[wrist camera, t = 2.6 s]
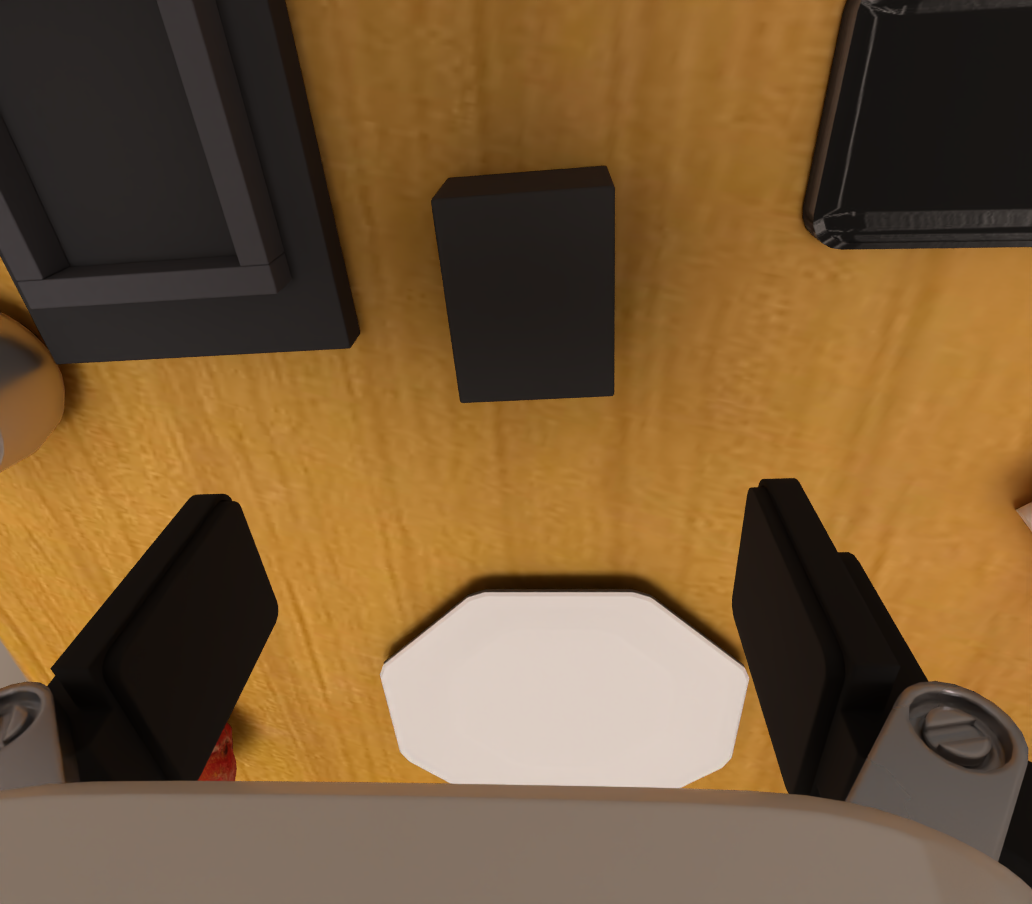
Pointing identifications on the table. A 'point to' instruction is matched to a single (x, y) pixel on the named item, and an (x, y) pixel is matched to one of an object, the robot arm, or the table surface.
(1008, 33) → the phone
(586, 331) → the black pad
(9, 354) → the plastic bottle
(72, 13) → the base pad
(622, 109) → the table surface
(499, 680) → the plate
